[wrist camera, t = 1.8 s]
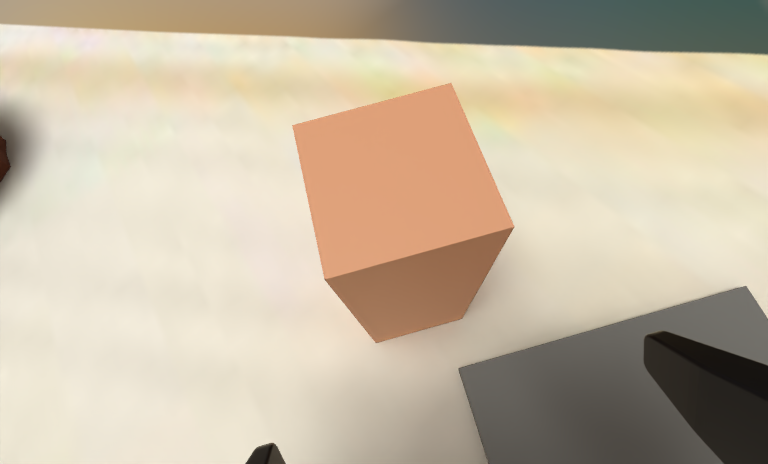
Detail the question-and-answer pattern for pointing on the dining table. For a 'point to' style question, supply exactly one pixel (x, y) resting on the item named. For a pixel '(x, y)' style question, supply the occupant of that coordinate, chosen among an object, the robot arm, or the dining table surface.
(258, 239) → the dining table surface
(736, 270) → the dining table surface
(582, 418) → the charcoal mat
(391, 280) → the terracotta block
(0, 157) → the muffin
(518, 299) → the dining table surface
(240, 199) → the dining table surface
